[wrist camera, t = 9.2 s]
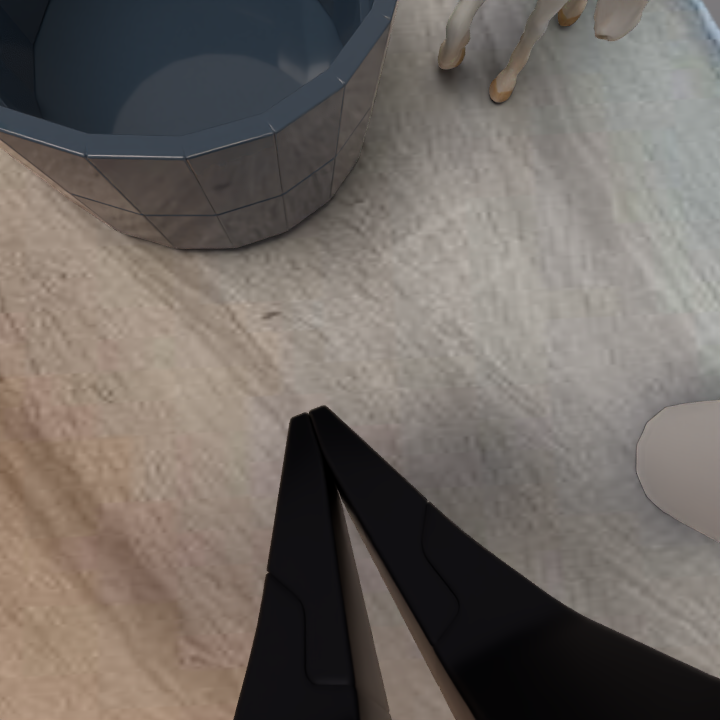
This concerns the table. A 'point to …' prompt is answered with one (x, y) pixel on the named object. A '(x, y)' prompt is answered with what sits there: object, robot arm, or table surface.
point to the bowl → (191, 108)
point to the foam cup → (684, 464)
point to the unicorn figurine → (536, 32)
